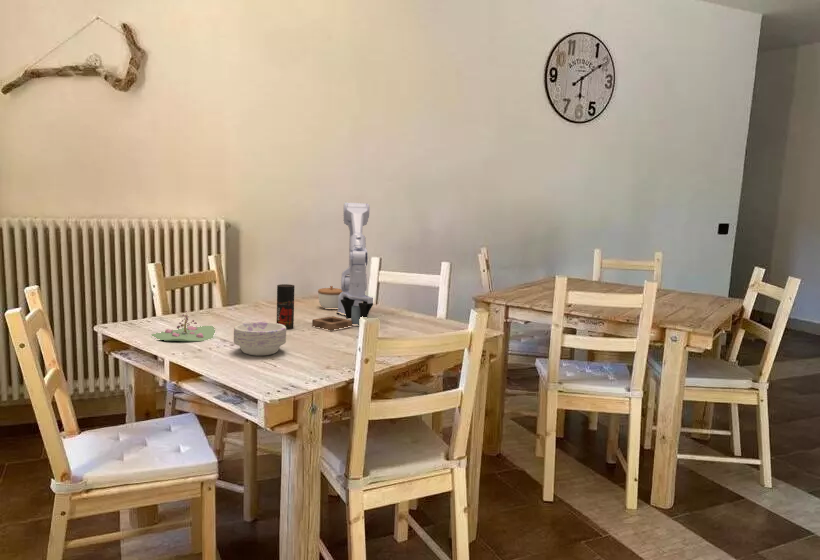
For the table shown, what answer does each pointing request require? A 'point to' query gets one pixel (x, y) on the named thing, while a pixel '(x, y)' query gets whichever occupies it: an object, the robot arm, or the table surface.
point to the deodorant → (285, 305)
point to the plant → (187, 332)
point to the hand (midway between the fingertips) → (356, 319)
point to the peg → (355, 314)
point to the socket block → (331, 323)
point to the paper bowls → (259, 337)
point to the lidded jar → (329, 297)
